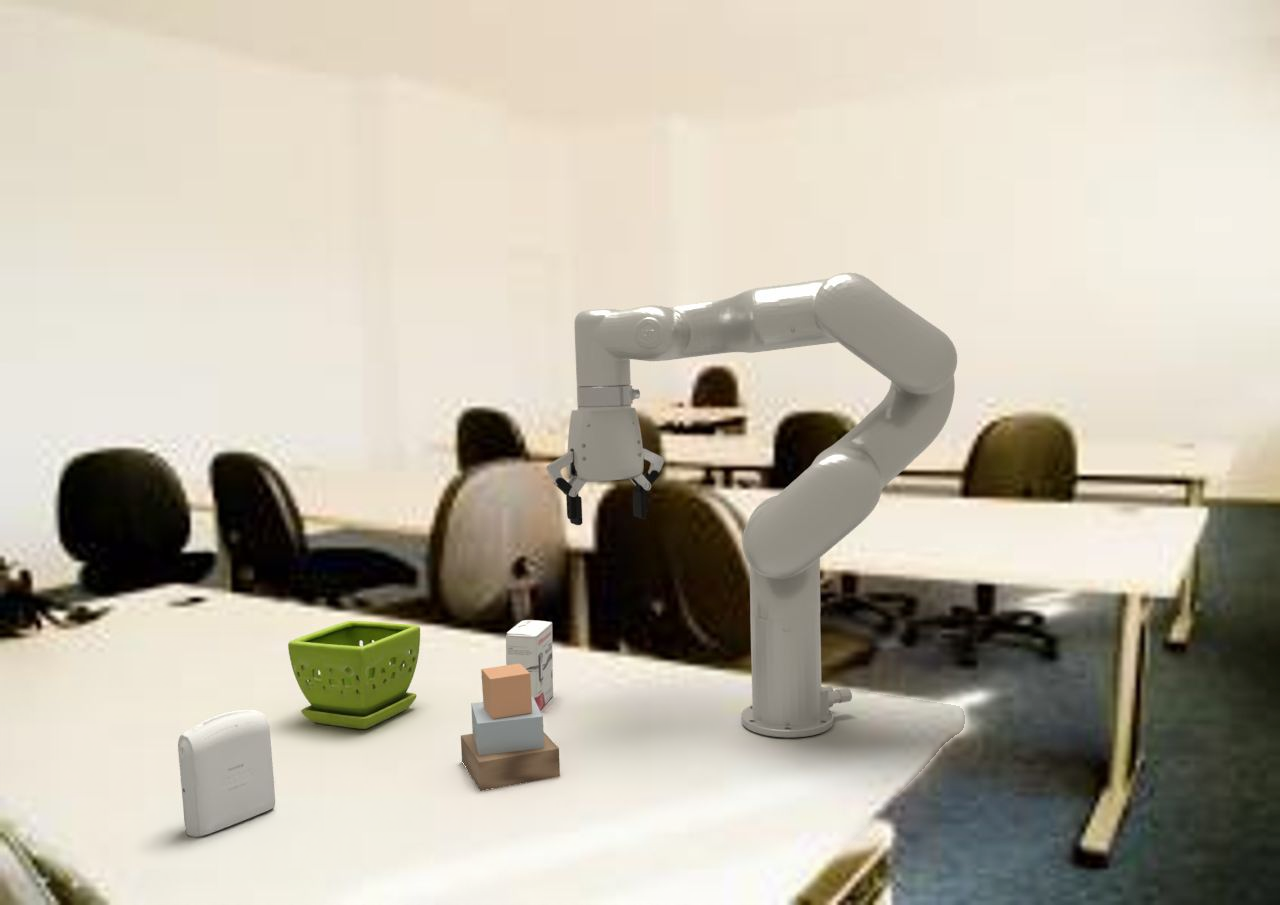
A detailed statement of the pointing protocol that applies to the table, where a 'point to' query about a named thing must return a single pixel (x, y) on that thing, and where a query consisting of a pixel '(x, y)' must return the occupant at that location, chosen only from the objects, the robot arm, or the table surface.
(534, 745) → the slate block
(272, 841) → the table surface
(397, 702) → the flower pot
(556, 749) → the walnut slab
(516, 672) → the terracotta cube
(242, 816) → the photo printer
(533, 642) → the ink box
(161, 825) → the table surface
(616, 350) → the robot arm
